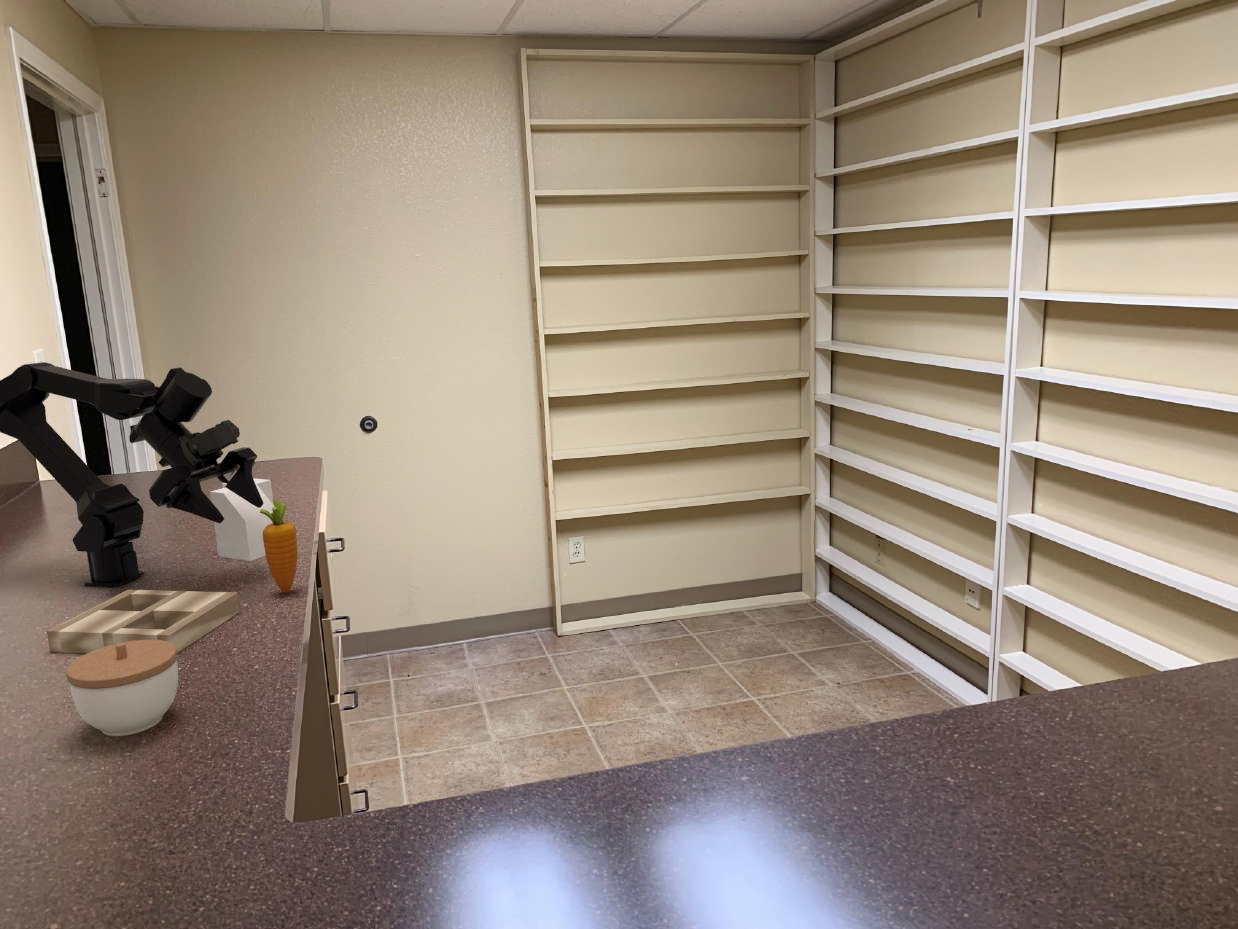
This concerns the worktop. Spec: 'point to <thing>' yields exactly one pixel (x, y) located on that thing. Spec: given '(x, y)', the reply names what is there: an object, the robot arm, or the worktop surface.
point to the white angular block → (242, 522)
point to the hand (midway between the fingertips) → (242, 513)
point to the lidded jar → (125, 685)
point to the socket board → (145, 619)
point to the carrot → (280, 547)
